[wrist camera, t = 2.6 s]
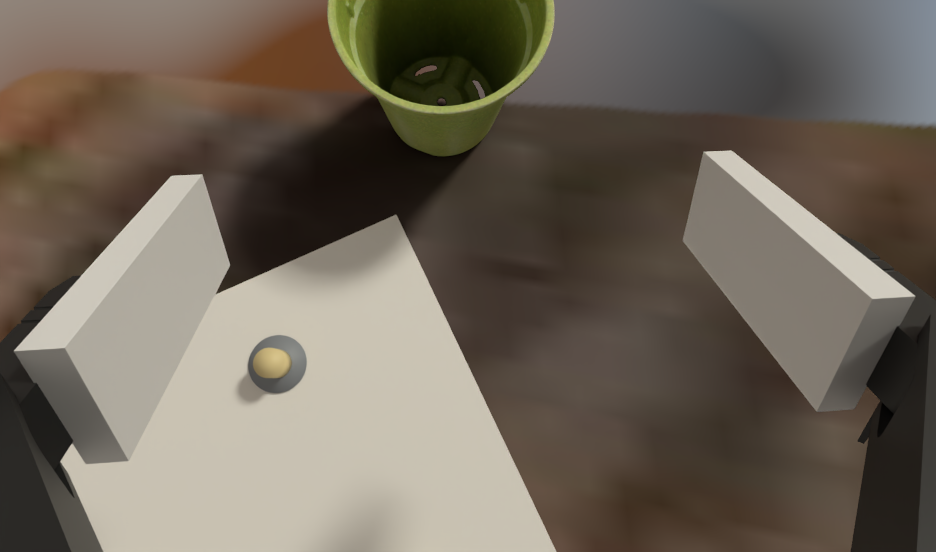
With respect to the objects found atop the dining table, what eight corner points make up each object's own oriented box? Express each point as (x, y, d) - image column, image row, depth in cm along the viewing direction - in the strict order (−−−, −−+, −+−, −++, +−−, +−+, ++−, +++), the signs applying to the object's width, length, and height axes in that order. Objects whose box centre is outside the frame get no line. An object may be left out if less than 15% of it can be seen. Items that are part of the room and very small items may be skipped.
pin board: (398, 221, 30) (393, 205, 27) (587, 620, 27) (603, 646, 24) (-9, 401, 27) (-57, 403, 25) (144, 869, 24) (106, 929, 21)
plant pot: (553, 146, 31) (594, 57, 23) (400, 214, 30) (383, 147, 22) (480, 11, 33) (493, -120, 24) (332, 71, 31) (291, -45, 23)
